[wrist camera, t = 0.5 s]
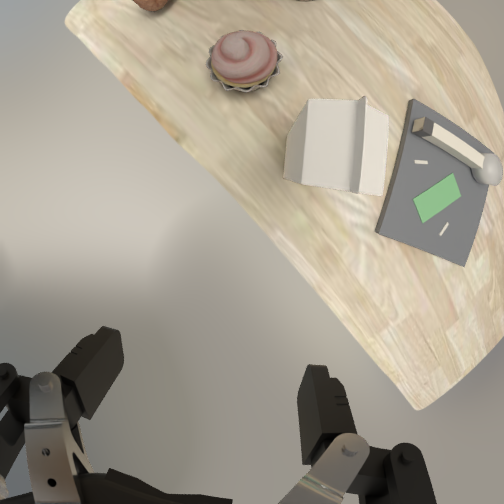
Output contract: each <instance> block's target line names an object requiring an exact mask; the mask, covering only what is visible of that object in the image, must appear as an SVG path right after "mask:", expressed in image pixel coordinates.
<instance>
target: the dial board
mask: <svg viewBox="0 0 504 504" xmlns="http://www.w3.org/2000/svg"><path fill="white" fill-rule="evenodd" d="M422 117H427V118H428V119H430V120H432V121H434V123H436V124H438V125H439V126H441V127H443V128H444V129H446V130H447V131H449V132H450V133H452V134H453V135H455V136H456V137H458V138H459V139H461V140H462V141H464V142H465V143H467V144H468V145H469V146H471V147H472V148H474V149H475V150H476V151H478V152H479V153H493V152H492V151H491V150H490V149H488V148H487V147H486V146H485V145H483V144H482V143H481V142H479V141H478V140H477V139H476V138H474V137H473V136H471V135H470V134H469V133H467V132H466V131H465V130H463V129H462V128H460V127H459V126H457V125H456V124H454V123H453V122H451V121H450V120H448V119H447V118H445V117H444V116H442V115H441V114H439V113H437V112H436V111H434V110H432V109H431V108H429V107H427V106H426V105H424V104H422V103H420V102H419V101H417V100H415V99H412V100H410V101H409V104H408V109H407V115H406V120H405V124H404V129H403V134H402V138H401V143H400V147H399V151H398V155H397V159H396V163H395V167H394V171H393V174H392V178H391V182H390V185H389V189H388V192H387V195H386V199H385V202H384V205H383V208H382V212H381V215H380V218H379V221H378V224H377V227H376V230H375V232H376V233H378V234H380V235H383V236H386V237H389V238H392V239H394V240H397V241H400V242H402V243H405V244H408V245H410V246H413V247H416V248H418V249H421V250H423V251H426V252H429V253H431V254H434V255H436V256H439V257H441V258H444V259H446V260H449V261H451V262H453V263H456V264H458V265H461V266H463V267H465V264H466V261H467V259H468V256H469V253H470V250H471V247H472V245H473V242H474V239H475V235H476V232H477V229H478V226H479V222H480V219H481V215H482V212H483V208H484V204H485V200H486V196H487V191H488V187H489V185H488V184H481V183H478V182H477V181H476V180H475V178H474V177H473V174H472V169H471V167H469V166H468V165H466V164H465V163H463V162H462V161H460V160H459V159H457V158H456V157H454V156H452V155H451V154H449V153H448V152H446V151H444V150H443V149H441V148H439V147H438V146H436V145H434V144H432V143H431V142H429V141H427V140H425V139H424V138H422V137H419V136H417V135H415V134H413V133H412V129H413V124H414V120H415V119H419V118H422ZM493 154H494V153H493Z"/></svg>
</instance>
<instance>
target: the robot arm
mask: <svg viewBox="0 0 504 504" xmlns="http://www.w3.org/2000/svg"><path fill="white" fill-rule="evenodd" d="M301 1H310V0H301ZM123 364H124V354H123V348H122V342H121V334H120V332H119V331H118V330H116V329H112V328H108V327H105V326H102V327H101V328H100V329H99V330H98V331H97V332H96V334H95V335H93V334H90V335H88V336H86V337H84V338H83V339H82V340H80V342H79V343H78V344H77V345H76V347H74V348H73V349H72V350H71V353H69V354H68V355H67V356H66V357H65V358H64V359H63V360H62V361H61V362H60V364H59V365H58V366H57V367H56V368H55V369H54V370H53V372H41V373H38V374H36V375H35V376H34V377H33V378H30V377H25V376H20V375H18V374H17V371H16V369H15V367H14V366H13V365H11V364H9V363H1V364H0V412H1V411H2V410H3V408H4V407H5V406H6V407H7V408H8V411H7V413H6V414H5V416H4V417H3V418H2V420H1V421H0V504H232V499H226V498H219V497H212V496H206V495H201V494H197V495H195V494H192V495H191V494H188V495H187V494H167V493H164V492H162V491H160V490H158V489H156V488H154V487H152V486H150V485H148V484H146V483H145V482H143V481H141V480H139V479H138V478H135V477H132V476H130V475H127V474H124V473H121V472H119V471H116V470H114V469H111V468H109V470H108V472H107V474H105V473H94V471H93V468H92V466H91V464H90V462H89V460H88V457H87V453H86V450H85V446H84V442H83V438H82V433H81V429H80V425H79V422H78V420H79V419H80V417H81V416H82V417H84V418H87V419H89V420H90V419H91V418H92V416H93V414H94V413H95V411H96V409H97V408H98V406H99V405H100V403H101V401H102V400H103V398H104V397H105V395H106V393H107V392H108V390H109V389H110V387H111V385H112V384H113V382H114V381H115V379H116V378H117V376H118V374H119V373H120V371H121V370H122V367H123ZM297 405H298V416H299V425H300V426H299V427H300V437H301V438H300V439H301V451H302V464H303V465H311V469H310V471H309V472H308V473H307V474H306V475H305V476H304V477H303V478H302V479H301V480H300V481H299V482H298V483H297V484H296V485H295V486H294V487H293V489H292V490H291V491H290V492H289V493H288V494H287V495H286V496H285V497H284V498H283V499H282V500H281V501H280V502H279V503H278V504H341V502H342V501H343V495H344V494H345V492H346V493H352V494H358V496H359V504H437V503H436V499H435V495H434V491H433V488H432V484H431V481H430V477H429V475H428V471H427V468H426V464H425V461H424V458H423V455H422V453H421V451H420V450H419V449H418V448H417V447H416V446H415V445H413V444H410V443H400V444H398V445H396V446H395V447H394V448H393V449H392V450H387V449H380V448H375V447H372V446H369V445H368V443H367V441H366V440H365V439H364V438H363V437H361V436H359V435H358V434H357V431H356V428H355V424H354V420H353V417H352V413H351V409H350V406H349V402H348V399H347V398H346V392H345V389H344V386H343V385H342V384H341V383H340V381H339V380H338V379H337V378H330V377H329V372H328V369H327V366H324V365H310V364H309V365H308V366H307V368H306V371H305V374H304V377H303V380H302V382H301V385H300V388H299V391H298V397H297ZM24 444H25V445H26V454H27V462H28V469H29V475H30V481H31V486H32V492H29V493H26V494H22V495H18V496H14V497H11V498H6V497H7V496H8V494H9V492H8V490H7V488H6V482H5V478H6V476H7V474H8V473H9V471H10V469H11V467H12V465H13V463H14V461H15V459H16V458H17V456H18V454H19V452H20V450H21V449H22V447H23V445H24ZM5 498H6V499H5Z"/></svg>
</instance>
